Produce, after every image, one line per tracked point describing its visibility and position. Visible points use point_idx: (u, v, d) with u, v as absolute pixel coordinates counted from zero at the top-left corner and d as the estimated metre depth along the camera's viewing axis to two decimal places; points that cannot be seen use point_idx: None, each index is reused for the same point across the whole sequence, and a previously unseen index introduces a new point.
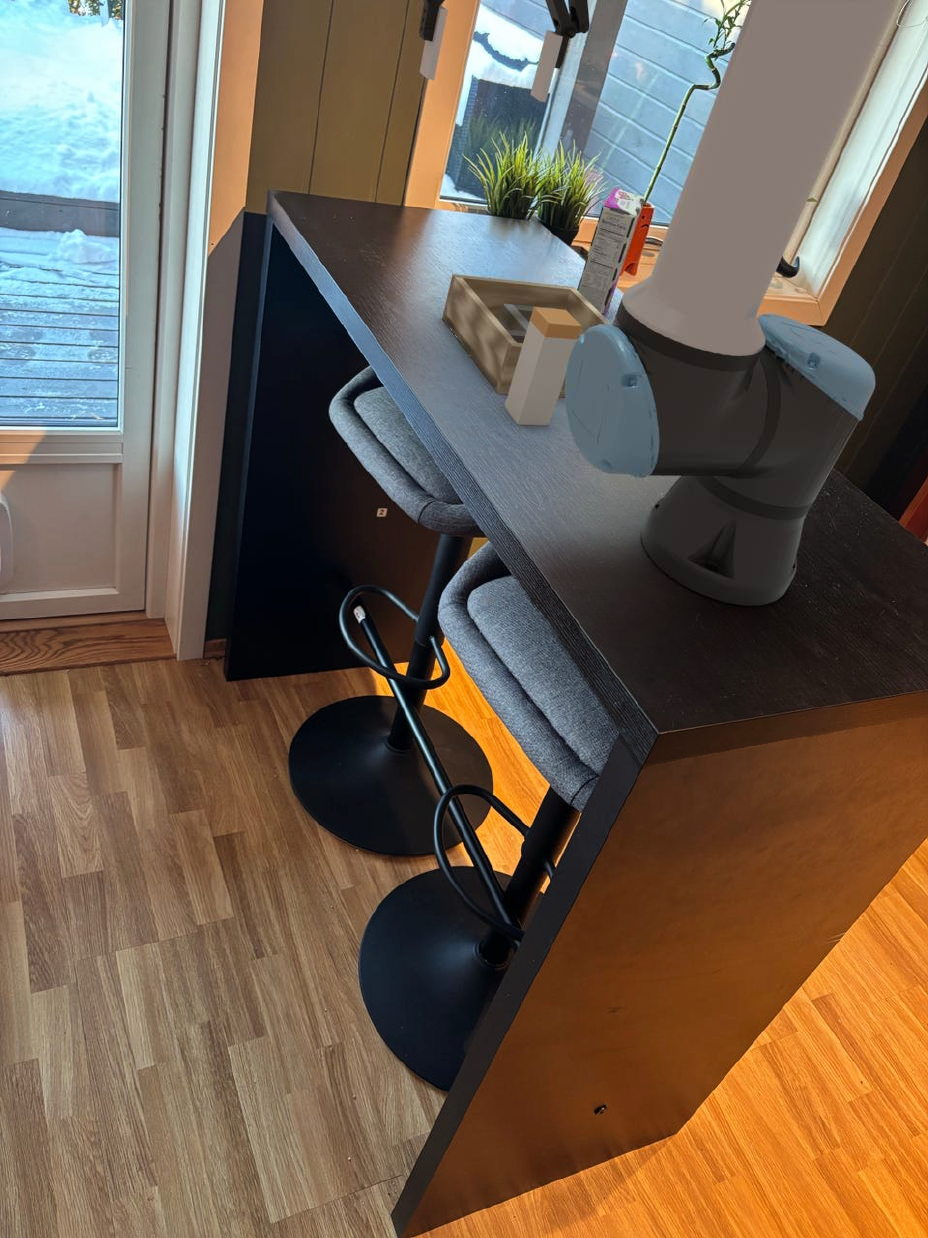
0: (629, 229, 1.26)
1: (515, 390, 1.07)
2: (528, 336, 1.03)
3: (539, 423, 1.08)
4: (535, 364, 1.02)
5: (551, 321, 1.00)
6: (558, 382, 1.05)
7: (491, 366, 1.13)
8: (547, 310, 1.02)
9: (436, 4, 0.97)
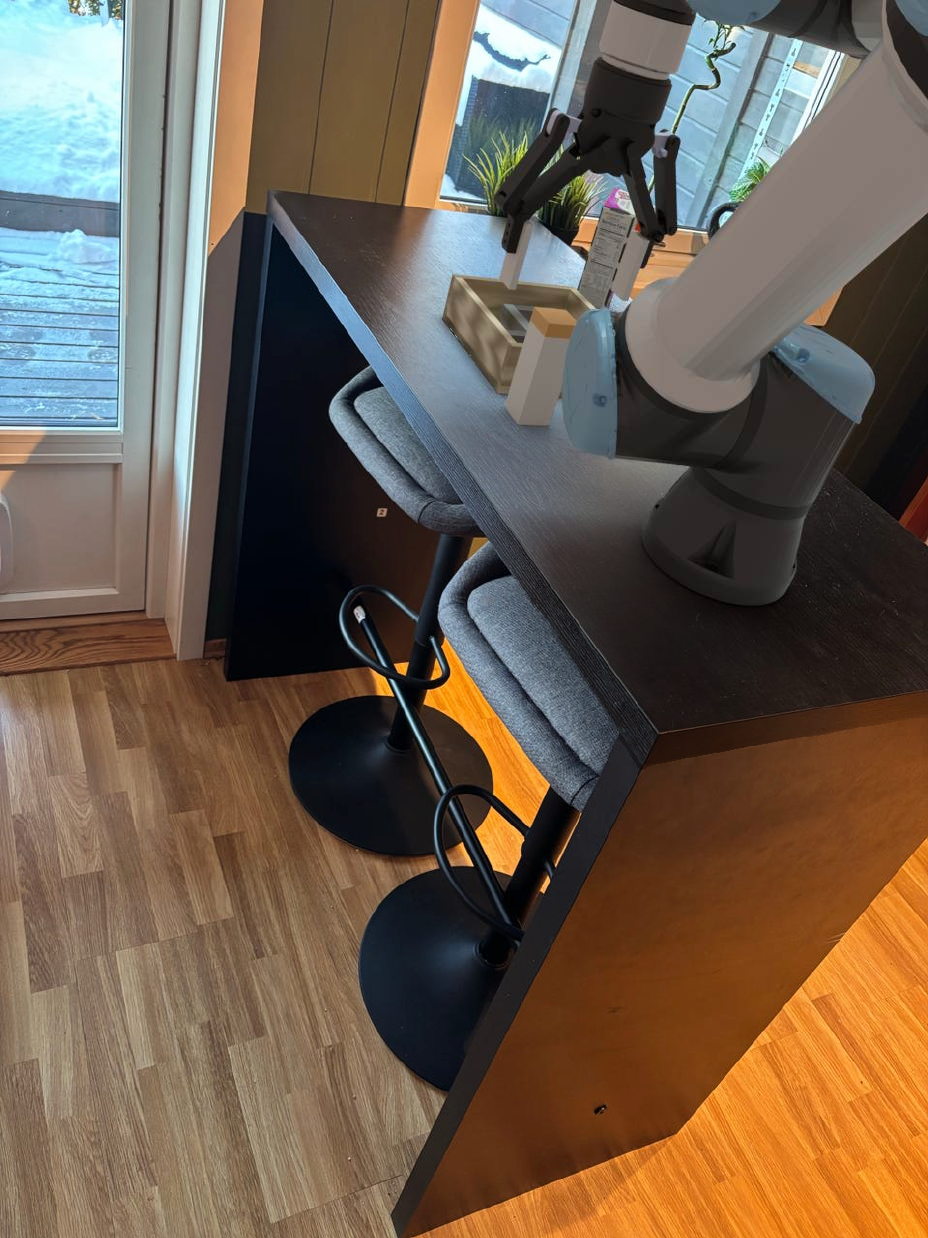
0: (629, 229, 1.26)
1: (516, 390, 1.07)
2: (528, 336, 1.03)
3: (539, 423, 1.08)
4: (535, 364, 1.02)
5: (551, 321, 1.00)
6: (558, 382, 1.05)
7: (491, 366, 1.13)
8: (547, 310, 1.02)
9: (522, 221, 0.92)
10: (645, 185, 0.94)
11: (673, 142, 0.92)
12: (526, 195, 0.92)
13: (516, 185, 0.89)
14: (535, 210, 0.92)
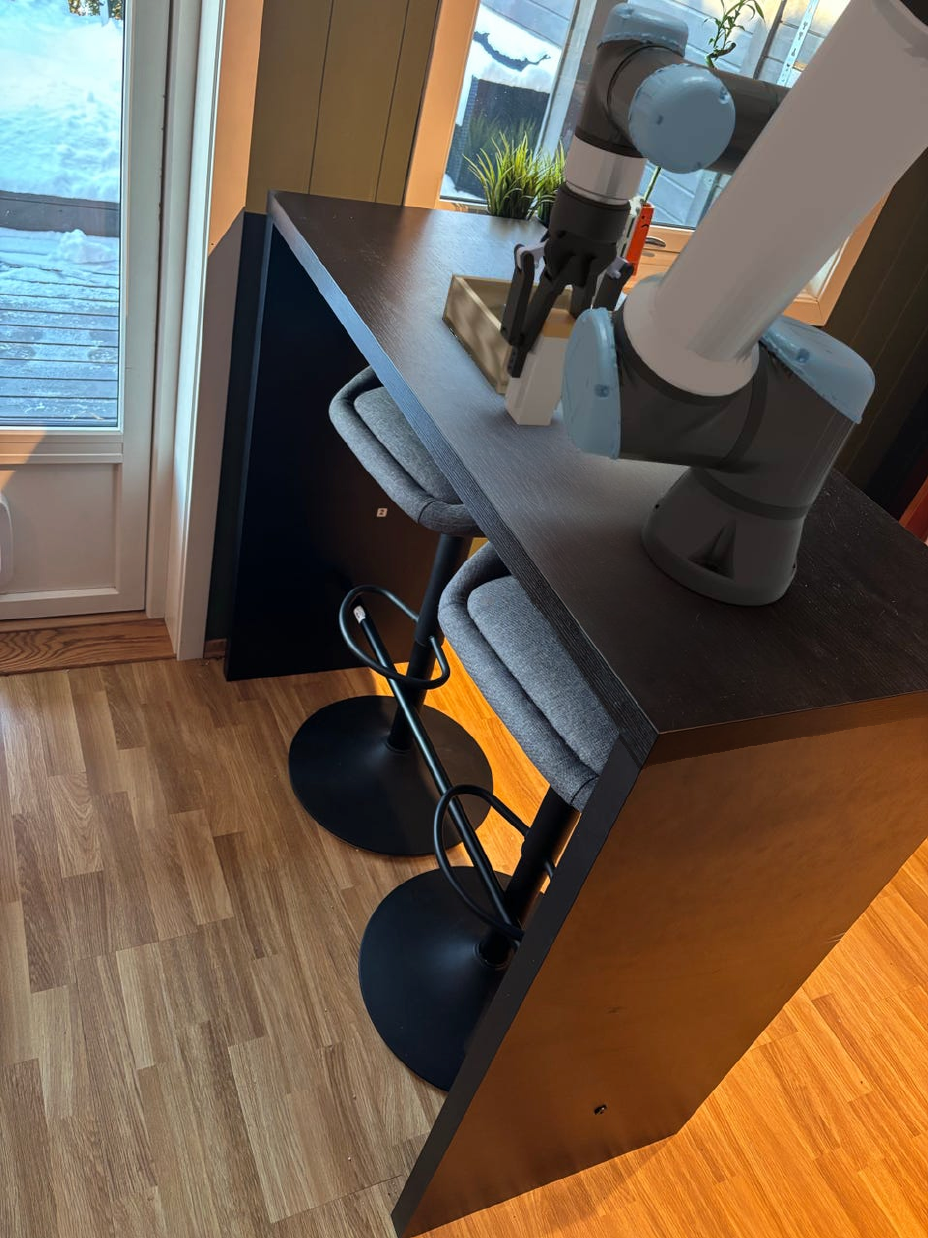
0: (629, 229, 1.26)
1: None
2: None
3: (539, 423, 1.08)
4: (535, 364, 1.02)
5: (551, 321, 1.00)
6: (558, 382, 1.05)
7: (491, 366, 1.13)
8: None
9: (527, 351, 1.02)
10: (590, 303, 1.00)
11: (628, 269, 0.99)
12: (523, 327, 1.01)
13: (512, 322, 0.99)
14: (534, 338, 1.01)
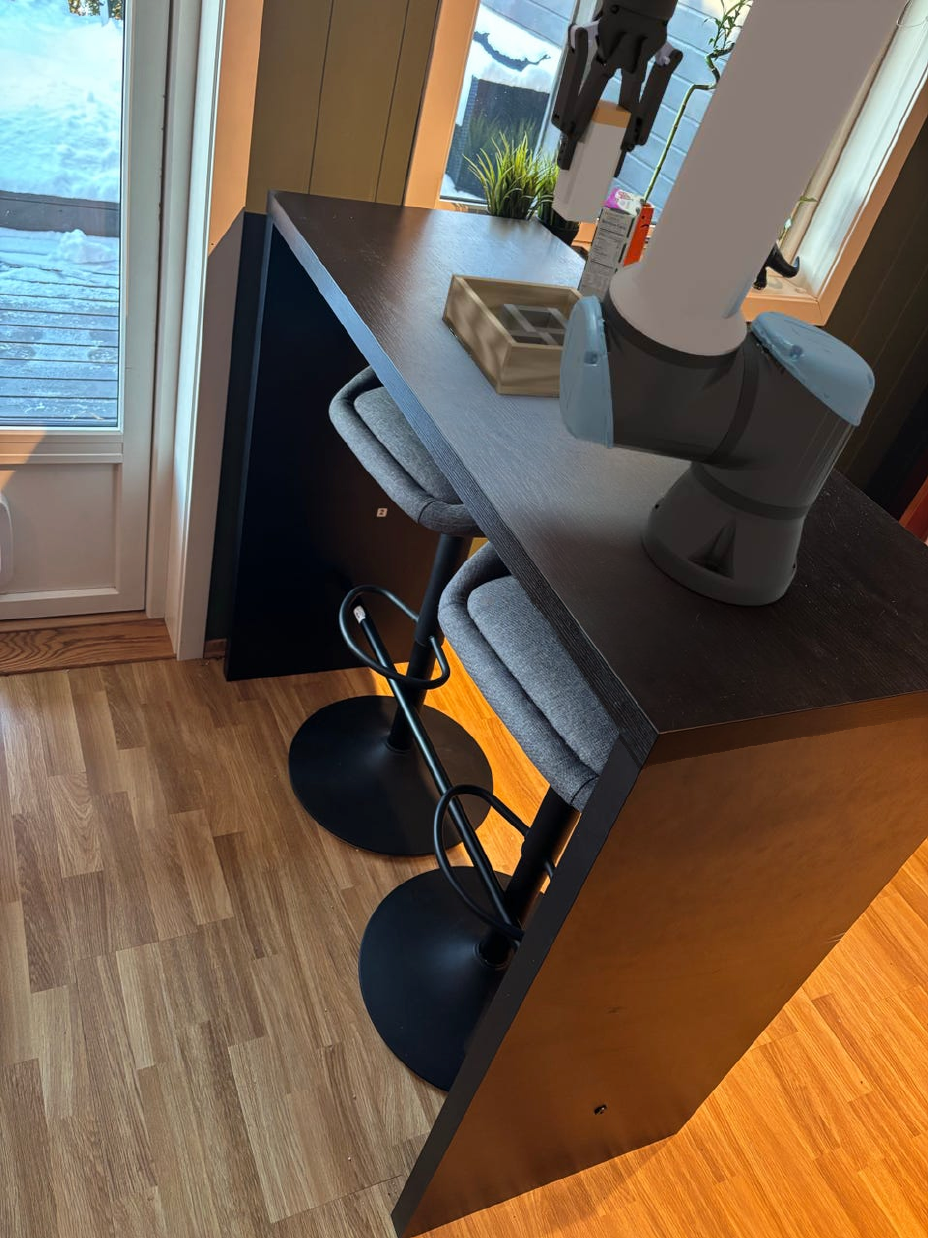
0: (629, 229, 1.26)
1: None
2: None
3: (586, 220, 1.10)
4: (585, 153, 1.05)
5: (602, 106, 1.03)
6: (606, 175, 1.08)
7: (491, 366, 1.13)
8: None
9: (578, 139, 1.04)
10: (639, 90, 1.03)
11: (677, 54, 1.02)
12: (574, 115, 1.04)
13: (564, 106, 1.02)
14: (585, 125, 1.04)
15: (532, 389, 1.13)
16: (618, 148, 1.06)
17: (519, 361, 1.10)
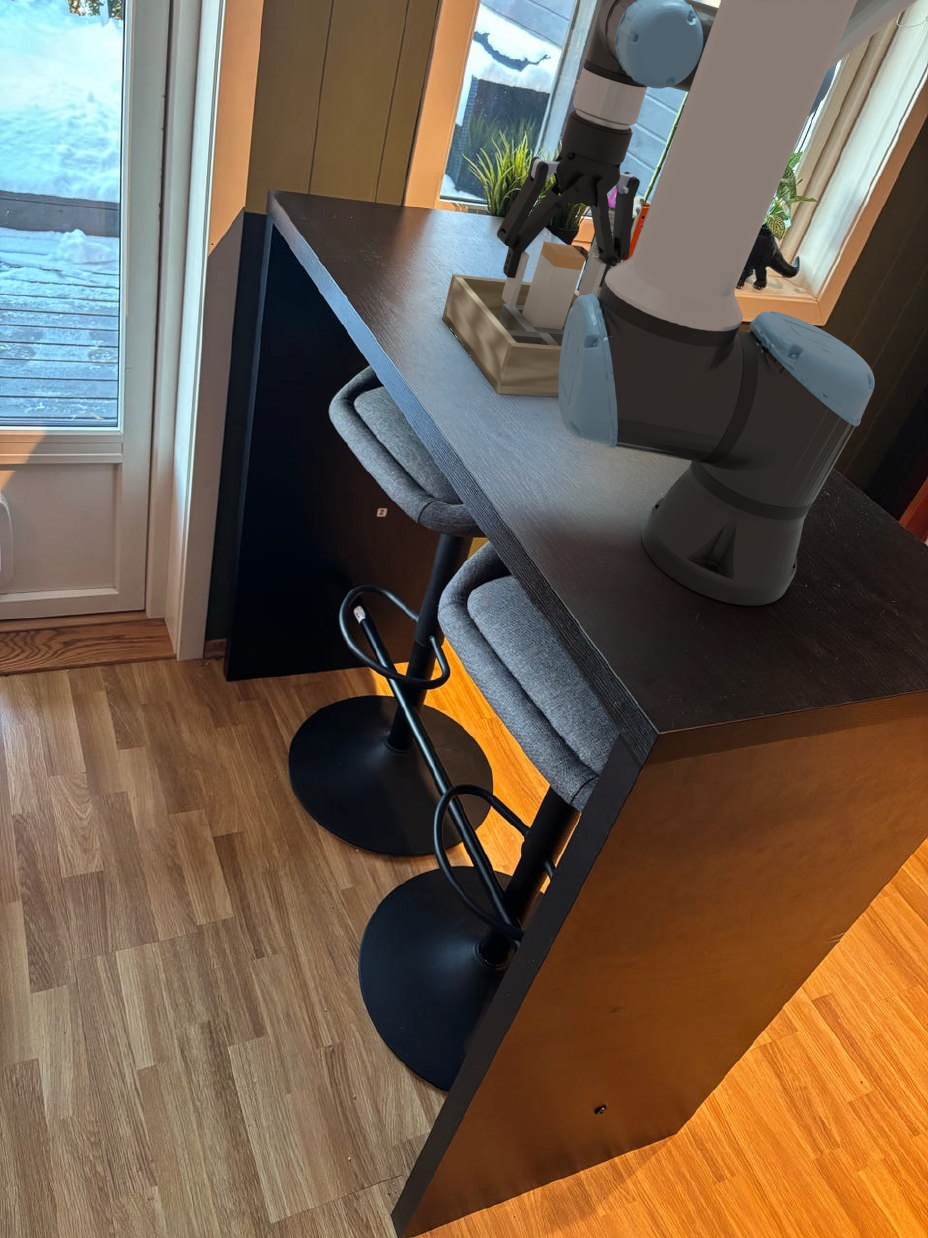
0: None
1: (526, 316, 1.22)
2: (538, 267, 1.19)
3: None
4: (544, 291, 1.18)
5: (559, 252, 1.15)
6: (564, 309, 1.20)
7: (491, 366, 1.13)
8: (555, 244, 1.17)
9: (520, 252, 1.14)
10: (607, 216, 1.15)
11: (634, 182, 1.13)
12: (521, 230, 1.13)
13: (512, 223, 1.11)
14: (529, 242, 1.13)
15: (532, 389, 1.13)
16: (574, 286, 1.18)
17: (519, 361, 1.10)
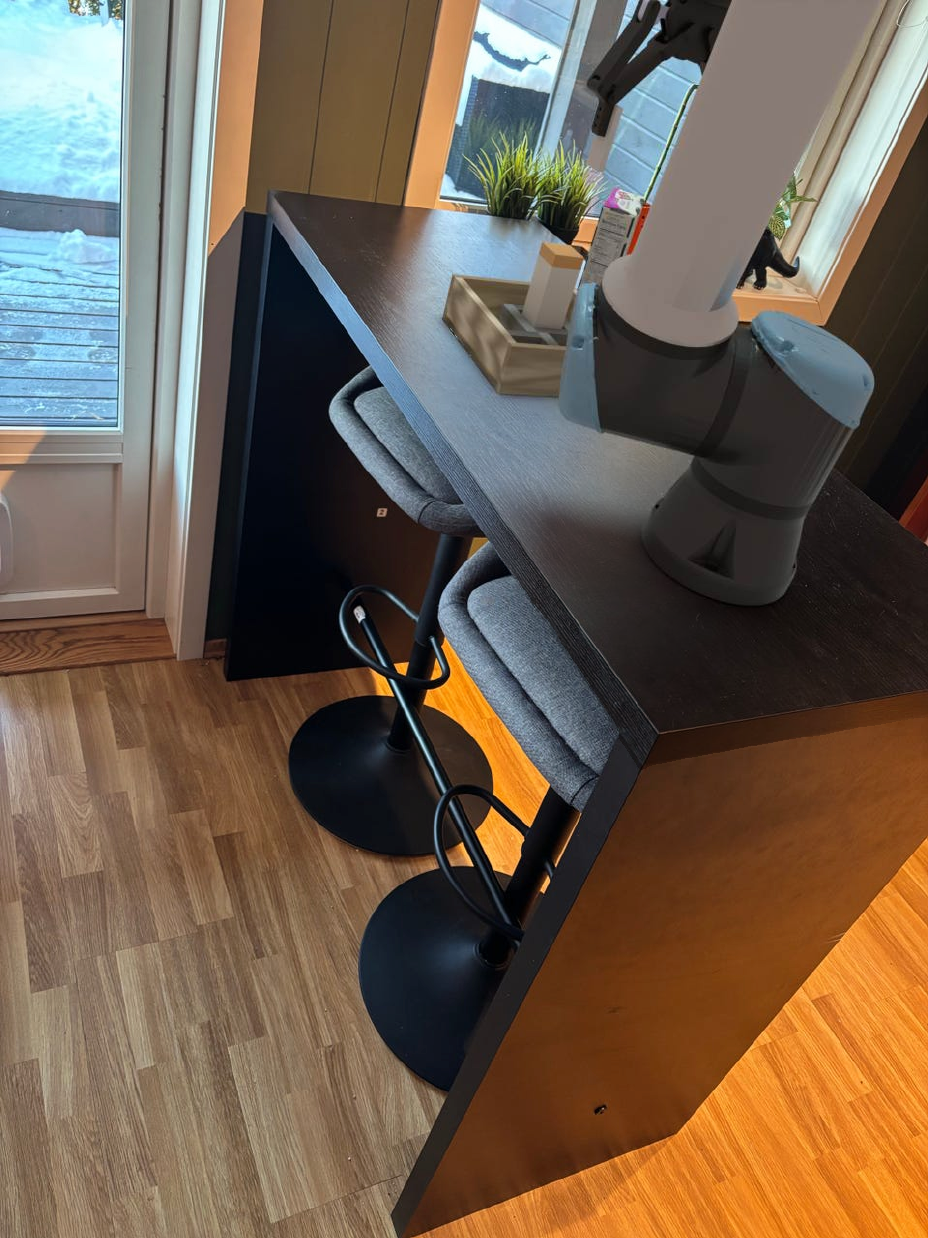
0: (629, 229, 1.26)
1: (526, 317, 1.22)
2: (537, 268, 1.19)
3: None
4: (543, 291, 1.18)
5: (557, 252, 1.15)
6: (563, 309, 1.20)
7: (491, 366, 1.13)
8: (554, 244, 1.17)
9: (613, 103, 1.00)
10: None
11: None
12: (616, 80, 1.00)
13: (610, 67, 0.98)
14: (625, 93, 1.00)
15: (532, 389, 1.13)
16: (573, 286, 1.18)
17: (519, 361, 1.10)
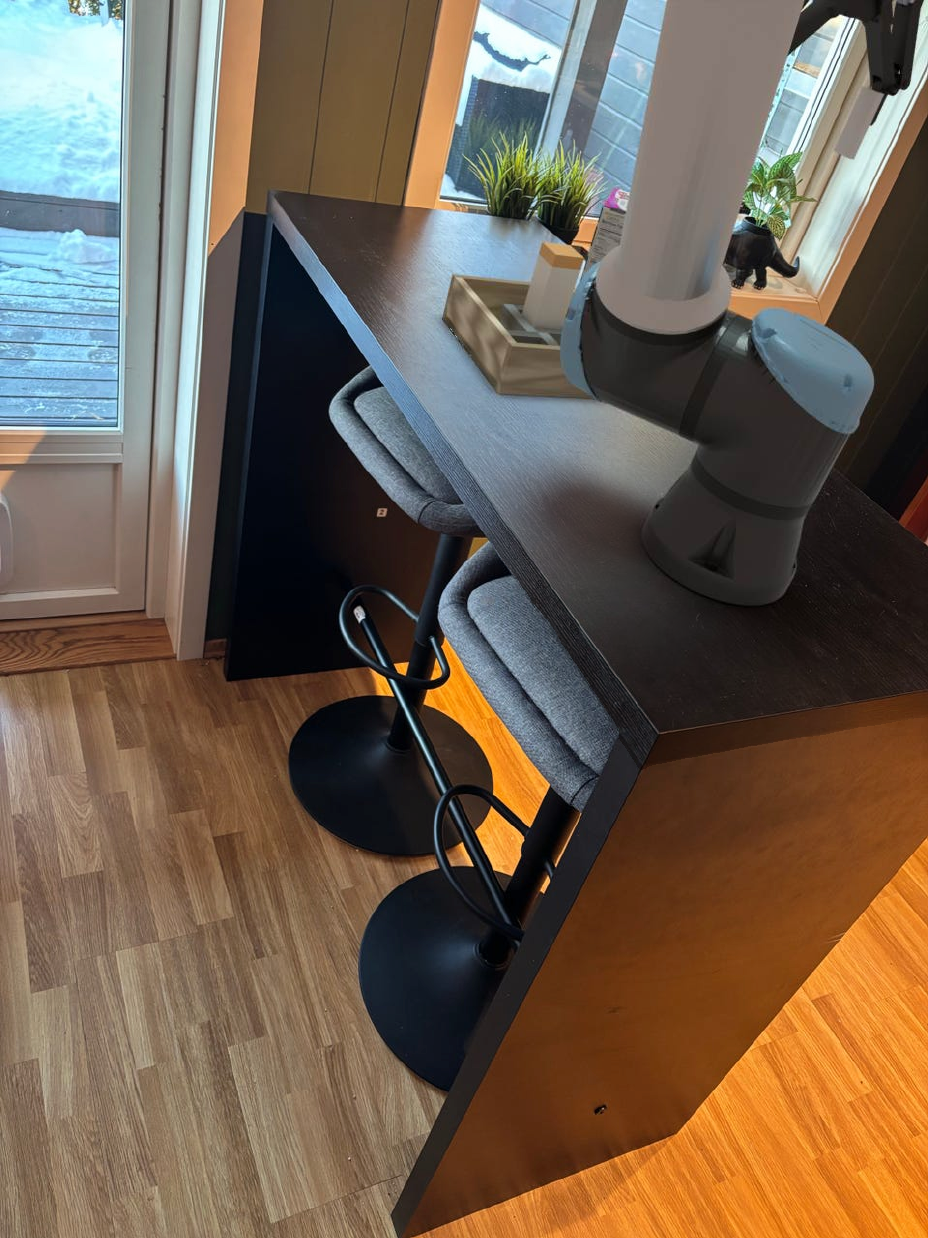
0: None
1: (526, 317, 1.22)
2: (537, 268, 1.19)
3: None
4: (543, 291, 1.18)
5: (557, 252, 1.15)
6: (563, 309, 1.20)
7: (491, 366, 1.13)
8: (554, 244, 1.17)
9: None
10: (889, 32, 0.95)
11: None
12: None
13: None
14: (787, 53, 0.93)
15: (532, 389, 1.13)
16: (573, 286, 1.18)
17: (519, 361, 1.10)
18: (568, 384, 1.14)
